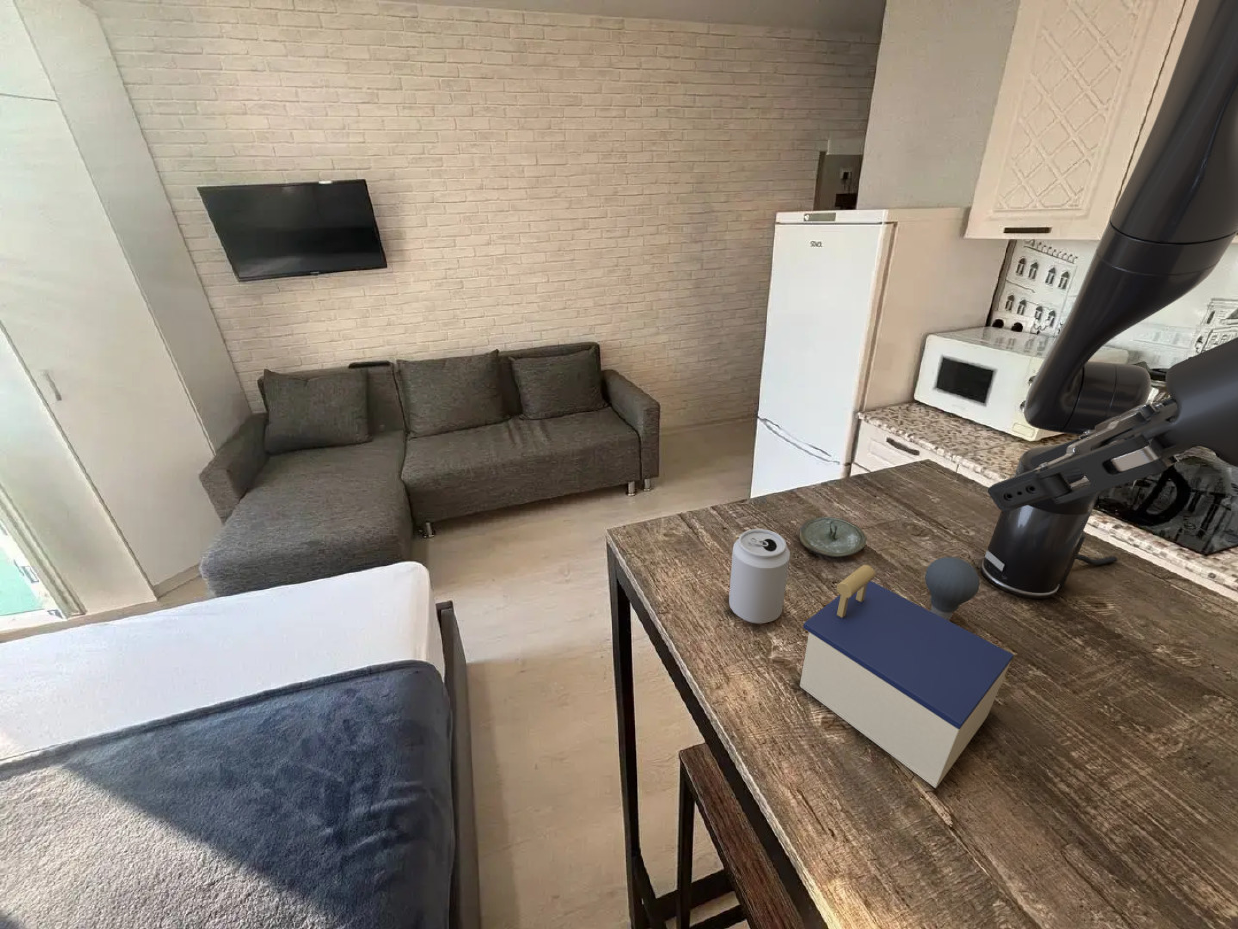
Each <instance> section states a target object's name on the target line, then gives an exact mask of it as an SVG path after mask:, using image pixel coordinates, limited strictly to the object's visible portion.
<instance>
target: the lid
mask: <svg viewBox="0 0 1238 929" xmlns="http://www.w3.org/2000/svg"><path fill="white" fill-rule="evenodd" d="M798 536H799V540H800V543H801V544H802V545H803V546H804V547H805V548H806V549H808V550H810V551H812V552H813V553H815V554H818V555H822V556H826V557H831V558H842V557H848V556H852V555H855V554H858V553H859V552H860V551H861V550H863V548H864V547H866V544H867V536H866V534H865V533H864V531H863V529H862V528H860V527H859V526H858V525H856V524H855V523H852V522H851V521H848V520H846V519H844V518H841V517H834V516H819V517H813V518H810V519H807V520H806V521H805V522H803V523H802V524H801V526H800V528H799V535H798Z"/></svg>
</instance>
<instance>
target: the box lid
mask: <svg viewBox="0 0 1238 929" xmlns="http://www.w3.org/2000/svg"><path fill="white" fill-rule="evenodd" d="M875 577H876V571H875V570H874V568H873V567H872V566H870V565H868V564H863V565H861V566H859V567H858V568H857V569H856V570H854V571H853V572H852V573H850V574H849V575H848V576H847V577H846V578H844V579H843V580H841V581H840V582H839V583H837V586H836V589H837V590H836V591H837V593H838V594H839V595H837V596H836V597H835V598H834V599H833V600H831V601H830V602H828V604H826V605H825V606H824V607H823V608H821V609H820V610H819V611H817V612H816V613H815V614H813V615H812V616H811V617H810V618H808V619H807V620H806V621H804V623H803V627H802V628H803V629H804V630H806V631H807V632H810V633H812V634H813V635H815V636H816V637H818V638H819V639H821V640H822V641H824V642H825V643H827V644H828V645H830V646H832V647H833V648H835V649H836V650H838V651H839V652H841V653H842V654H844V655H845V656H847V657H848V658H850V659H851V660H853V661H855V662H856V663H858V664H859V665H861V666H862V667H864V668H865V669H867V670H868V671H870V672H871V673H873V674H874V675H876V676H878V677H879V678H881V679H882V680H884V681H885V682H887V683H888V684H890V685H891V686H893V687H894V688H896V689H897V690H899V691H901V692H902V693H904V694H905V695H907V696H908V697H910V698H911V699H913V700H914V701H916V702H917V703H919V704H920V705H922V706H924V707H925V708H927V709H928V710H930V711H931V712H933V713H934V714H936V715H937V716H939V717H940V718H942V719H943V720H945V721H947V722H948V723H950V724H951V725H953V726H954V727H956V728H957V729H960V728H961V727H962V726H963V724H964V723H965V722H966V720H967V719H968V718H969V716H970V715H971V714H972V712H973V711H974V710H975V708H976V707H977V706H978V704H979V703H980V702H981V700H982V699H983V698H984V696H985V695H986V694H987V692H988V691H989V690H990V688H991V687H992V686H993V684H994V683H995V682H996V680H997V679H998V678H999V676H1000V675H1001V674H1002V672H1003V671H1004V670H1005V668H1006V667H1007V666H1008V664H1009V663H1010V662H1011V663H1012V660H1013V658H1014V655H1015V654H1013V653H1012V652H1010V651H1008V650H1006V649H1004V648H1001V647H1000V646H998V645H996V644H994V643H992V642H990V641H989V640H986V639H985V638H983V637H981V636H979V635H977V634H975V633H973V632H971V631H970V630H967V629H965V628H964V627H961V626H959V625H957V624H955V623H953V622H952V621H950V620H949V621H948V620H946V619H944V618H942V617H940V616H938V615H936V614H934V613H932V612H930V611H931V610H928V609H927V608H924V607H923V606H921V605H920V604H919V605H918V604H917V603H915V602H914V601H911V600H909V599H907V598H906V597H903V596H902V595H900V594H898V593H896V592H894V591H893V590H891V589H887V588H886V587H884V586H882V585H880V584H878V583H876V582H874V581H873V580H874V579H875ZM1011 663H1010V664H1011Z"/></svg>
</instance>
